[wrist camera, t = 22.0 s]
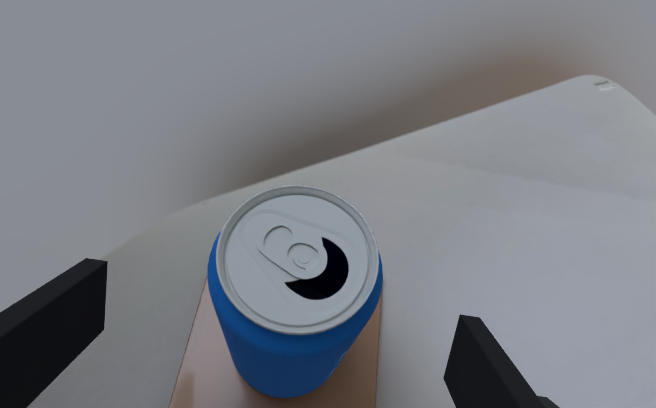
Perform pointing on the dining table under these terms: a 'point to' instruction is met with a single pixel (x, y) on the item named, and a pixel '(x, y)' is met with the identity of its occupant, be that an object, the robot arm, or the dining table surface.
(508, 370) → the robot arm
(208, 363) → the cork mat
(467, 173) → the dining table surface
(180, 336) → the dining table surface
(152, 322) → the dining table surface
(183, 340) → the dining table surface
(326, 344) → the beverage can
